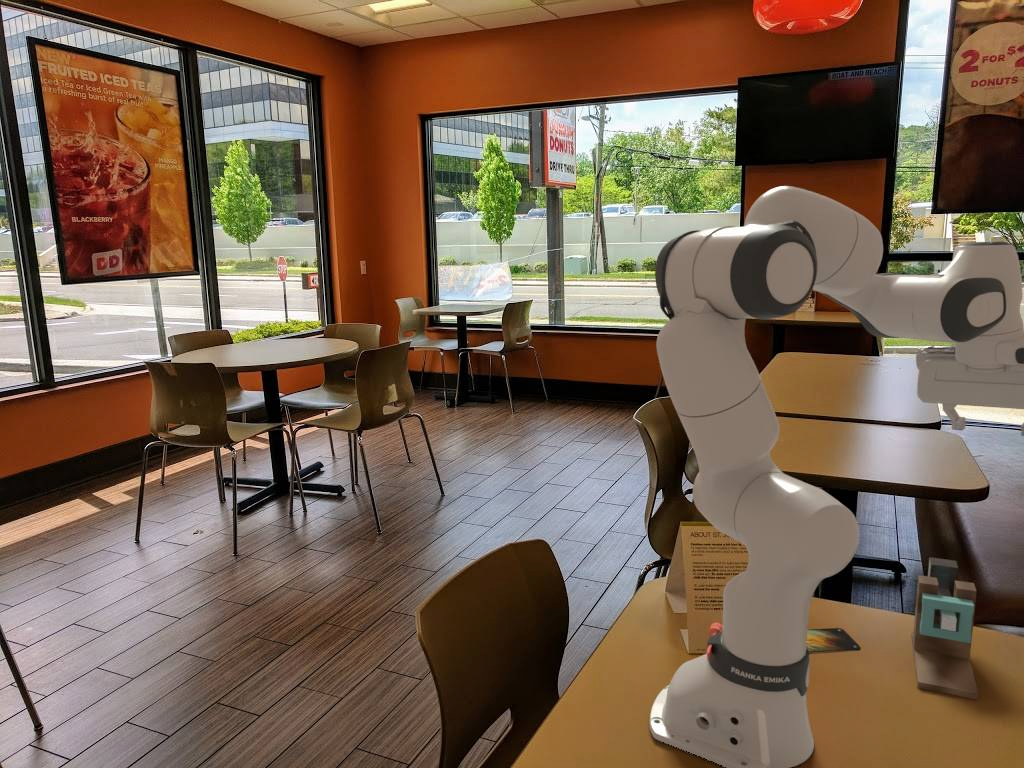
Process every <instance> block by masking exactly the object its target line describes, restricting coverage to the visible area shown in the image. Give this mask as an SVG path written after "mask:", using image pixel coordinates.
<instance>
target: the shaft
mask: <svg viewBox="0 0 1024 768" xmlns="http://www.w3.org/2000/svg"><path fill="white" fill-rule="evenodd" d="M927 569H928V571H927V576H928V577H935V578H937V581H938V595H941V596H947V597H953V595H954V584H955V580H956V581H958V574H959V566H958V562H957V560H952V559H944V558H937V557H930V556H929V558H928V568H927ZM937 612H938V617H939V622H940V627H941V629H945V630H951V631H956V622H957V619H956V615H955V612H953V611H946V610H940V609H937Z"/></svg>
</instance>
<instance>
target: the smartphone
mask: <svg viewBox="0 0 1024 768" xmlns="http://www.w3.org/2000/svg"><path fill="white" fill-rule="evenodd" d="M806 645H807V647H808V649H809V654H815V653H816V654H817V653H819V654H820V653H821V654H822V653H833V652H834V653H835V652H850V651H851V652H852V651H853V650H854V651H860V650H861V649H862V648H861V646H860V645H859V644H858V642H856V641H855V640H854V639H853V638H852V636H850V635H849V634H848V633H847V632H846V631H845V629H843V628H840V627H834V628H833V627H832V628H831V627H829V628H812V629H810V628H809V629H808V628H807V642H806Z"/></svg>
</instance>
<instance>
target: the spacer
mask: <svg viewBox="0 0 1024 768" xmlns="http://www.w3.org/2000/svg"><path fill="white" fill-rule="evenodd" d="M935 609H940V610H946V611H953V612H959V614H958V625H957V626H956V631H951V630H945V629H941V627H940V623H934V611H935ZM973 612H974V604H973V601H972V600H967V599H960V598H954V597H947V596H941V595H934V594H928V593H922V613H921V620H920V628H919V629H920V634H921V635H927V636H932V637H938V638H944V639H950V640H955V641H961V642H967V643H970V642H971V624H972V615H973ZM974 613H975V612H974ZM971 643H972V642H971Z"/></svg>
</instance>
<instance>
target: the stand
mask: <svg viewBox="0 0 1024 768" xmlns="http://www.w3.org/2000/svg"><path fill="white" fill-rule="evenodd" d="M916 587H917V588H916V599H915V610H914V611H915V612H914V623H913V631H911V635H910V636H911V645H912V646H911V647H912V653H913V661H914V670H915V677H916V684H917V687H916V688H919V689H923V690H928V691H933V692H938V693H944V694H948V695H953V696H957V697H963V698H968V699H973V700H977V701H978V699H979V691H978V686H977V684H976V678H975V675H974V671H973V666H972V663H971V650H972V641H973V639H972V638H973V632H974V631H973V630H974V621H975V620H974V619H975V611H976V610H975V609H976V600H977V599H976V598H977V588H976V585H975V582H969V581H962V580H961V581H960V580H957V581H956V580H955V584H954V595H953V597H954V598H960V599H967V600H972V601H973V604H974V612H973V615H972V624H971V642H970V643H967V642H961V641H955V640H950V639H944V638H938V637H932V636H927V635H921V634H920V629H919V628H920V620H921V613H922V593H928V594H934V595H938V581H937V578H935V577H928V575H920V574H919V575H918V577H917V586H916ZM958 614H959V612H955V615H956V619H957V622H956V626H957V625H958ZM934 623H940V622H939V617H938V612H937V609H935V611H934Z"/></svg>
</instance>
